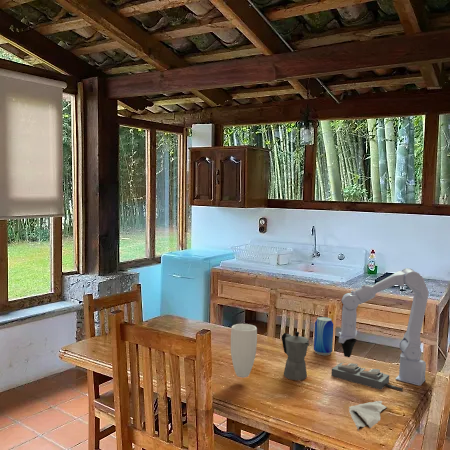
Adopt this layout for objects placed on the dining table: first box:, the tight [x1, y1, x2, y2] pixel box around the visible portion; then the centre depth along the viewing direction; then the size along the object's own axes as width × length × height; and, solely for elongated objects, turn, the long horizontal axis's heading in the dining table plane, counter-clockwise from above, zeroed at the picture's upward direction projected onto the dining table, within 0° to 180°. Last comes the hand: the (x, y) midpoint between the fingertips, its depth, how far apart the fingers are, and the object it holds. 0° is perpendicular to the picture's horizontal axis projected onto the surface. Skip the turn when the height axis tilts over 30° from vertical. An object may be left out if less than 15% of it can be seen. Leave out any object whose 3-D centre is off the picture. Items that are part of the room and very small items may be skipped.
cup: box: [230, 323, 258, 378], centre depth 176 cm, size 10×10×22 cm
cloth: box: [348, 400, 387, 432], centre depth 155 cm, size 26×14×2 cm, turn 134°
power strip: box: [331, 362, 404, 392], centre depth 182 cm, size 26×9×4 cm, turn 53°
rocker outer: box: [341, 362, 359, 369], centre depth 187 cm, size 6×4×1 cm, turn 53°
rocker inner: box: [362, 368, 381, 374], centre depth 181 cm, size 6×4×1 cm, turn 53°
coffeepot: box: [281, 331, 310, 381], centre depth 186 cm, size 15×9×18 cm, turn 33°
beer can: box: [313, 316, 334, 356], centre depth 214 cm, size 8×8×16 cm
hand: (347, 356), depth 188 cm, fingers closed
